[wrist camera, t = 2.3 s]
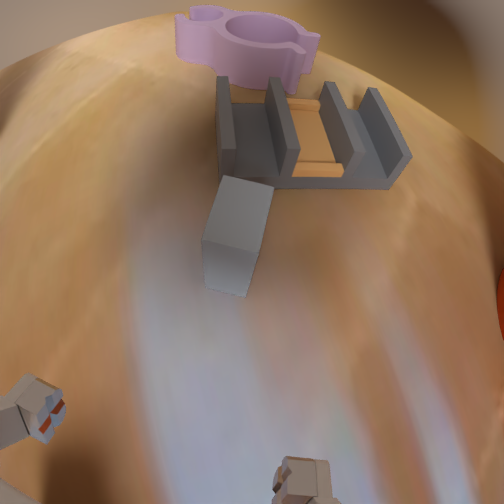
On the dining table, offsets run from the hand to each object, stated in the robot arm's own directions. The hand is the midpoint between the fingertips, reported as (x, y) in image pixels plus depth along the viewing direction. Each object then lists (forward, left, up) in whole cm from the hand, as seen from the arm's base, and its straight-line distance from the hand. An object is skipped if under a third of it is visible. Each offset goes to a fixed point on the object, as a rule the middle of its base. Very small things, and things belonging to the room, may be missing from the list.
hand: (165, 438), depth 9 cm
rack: (-17, +23, -15) cm, 32 cm away
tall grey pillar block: (-9, +9, -15) cm, 20 cm away
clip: (-36, +27, -15) cm, 48 cm away
